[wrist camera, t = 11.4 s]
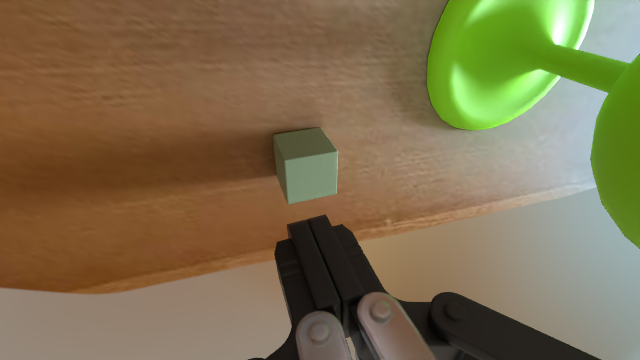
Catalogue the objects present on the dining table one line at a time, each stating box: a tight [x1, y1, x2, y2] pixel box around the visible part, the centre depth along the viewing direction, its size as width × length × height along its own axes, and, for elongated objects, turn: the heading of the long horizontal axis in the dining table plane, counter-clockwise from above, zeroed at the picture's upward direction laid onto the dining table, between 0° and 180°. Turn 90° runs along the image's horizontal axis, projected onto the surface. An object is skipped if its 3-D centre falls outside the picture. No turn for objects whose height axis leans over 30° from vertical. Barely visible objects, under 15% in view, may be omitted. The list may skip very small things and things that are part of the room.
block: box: [273, 127, 338, 204], centre depth 25 cm, size 4×4×4 cm
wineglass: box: [427, 0, 640, 248], centre depth 20 cm, size 16×16×18 cm
